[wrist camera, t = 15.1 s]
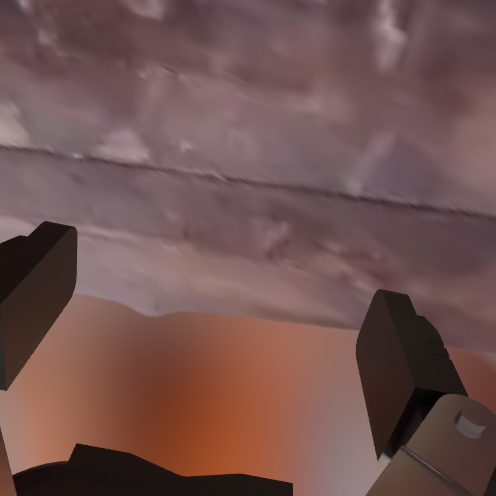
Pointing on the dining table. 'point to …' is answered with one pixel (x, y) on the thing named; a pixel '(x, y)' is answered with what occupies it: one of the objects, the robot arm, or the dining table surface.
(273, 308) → the dining table surface
